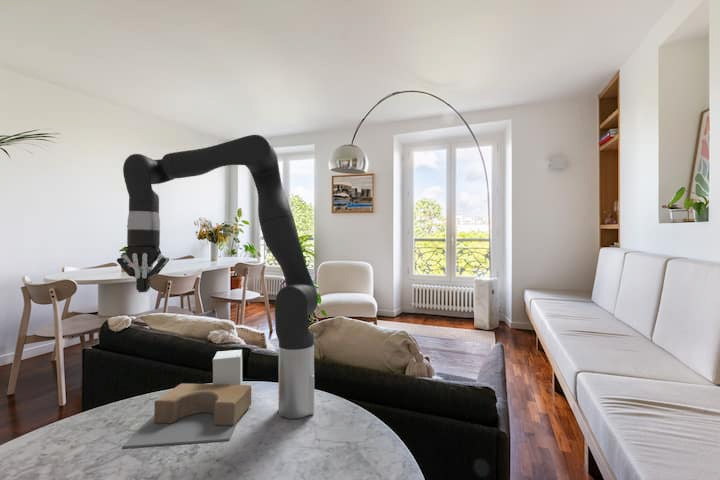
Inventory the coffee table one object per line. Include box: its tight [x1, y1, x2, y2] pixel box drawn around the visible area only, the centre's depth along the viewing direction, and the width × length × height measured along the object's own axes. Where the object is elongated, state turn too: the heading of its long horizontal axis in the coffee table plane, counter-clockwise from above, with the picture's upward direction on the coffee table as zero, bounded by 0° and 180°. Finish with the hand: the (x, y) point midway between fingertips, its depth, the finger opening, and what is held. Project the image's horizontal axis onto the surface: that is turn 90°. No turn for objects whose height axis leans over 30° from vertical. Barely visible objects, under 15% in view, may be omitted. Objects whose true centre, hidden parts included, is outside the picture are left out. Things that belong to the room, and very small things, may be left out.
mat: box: [122, 413, 240, 449], centre depth 81 cm, size 22×16×1 cm
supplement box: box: [212, 349, 243, 385], centre depth 96 cm, size 7×7×13 cm
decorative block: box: [153, 382, 252, 426], centre depth 86 cm, size 11×6×20 cm
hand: (143, 291), depth 92 cm, fingers closed
